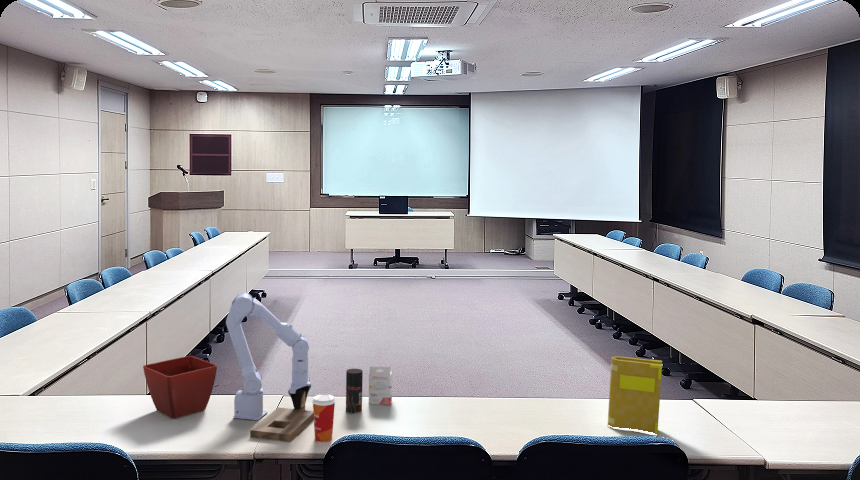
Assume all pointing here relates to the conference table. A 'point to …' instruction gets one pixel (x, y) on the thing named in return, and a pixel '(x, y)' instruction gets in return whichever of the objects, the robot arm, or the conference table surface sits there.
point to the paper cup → (323, 417)
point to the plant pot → (180, 385)
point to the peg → (302, 402)
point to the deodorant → (354, 390)
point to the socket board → (282, 424)
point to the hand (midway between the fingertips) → (299, 406)
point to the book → (634, 393)
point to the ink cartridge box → (380, 386)
